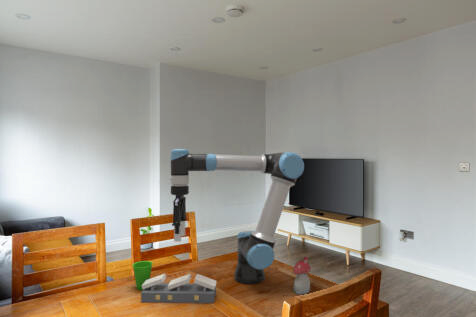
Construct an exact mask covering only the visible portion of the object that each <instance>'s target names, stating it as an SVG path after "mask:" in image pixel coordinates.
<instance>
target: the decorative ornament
mask: <svg viewBox="0 0 476 317" xmlns="http://www.w3.org/2000/svg"><path fill="white" fill-rule="evenodd" d="M308 261H309V257H308V256H304V257H303V259H302V260H299V261H297V262H296V263H295V264H294V266H293V268H292V273H293V274H294V275H296V276H295V278H294V281H293V287H292V291H293V293H294V294H295V295H299V296H300V295H302V296H303V294H304V295H306V294H307V293H309V292H310V290H311V281H310V278H309V275H308V274H309V273H310V272H311V271H312V270H311V265H310V264H309V263H308Z"/></svg>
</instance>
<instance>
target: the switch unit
mask: <svg viewBox="0 0 476 317" xmlns="http://www.w3.org/2000/svg"><path fill="white" fill-rule="evenodd" d="M169 283H170V282H168V283H167V282H162V283H160V284H157V285H154V286H151V287H148V288H145V289H144V290H141V293H140V302H141V303H159V304H161V303H165V304H170V303H171V304H214V303H215V299H216V294H217V285H216V286H215V289H214V290H212V289H209V288H207V287H204V286H201V285H199V284H196V283H194V282H193V283H191V282H189V283H187V284H184V285H181V286H178V287H175V288H172V289H170V290H169V289H168V285H169Z"/></svg>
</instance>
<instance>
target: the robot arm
mask: <svg viewBox="0 0 476 317" xmlns="http://www.w3.org/2000/svg"><path fill="white" fill-rule="evenodd" d="M304 170H305V163H304V161H303V159H302V156H300V154H298V153H295V152H292V151H286V152H285V151H283V152H276V153H262V154H261V155H243V154H242V155H239V154H236V155H234V154H215V153H190V152H189V148H188V149H186V148H173V149H172V150H171V152H170V177H169V180H170V184H171V185H170V194H171V195H172V196H175V198H174V199H173V202H172V203H173V206H172V207H173V213H172V223H171V226H172V227H173V229H174V230H173V232H174V233H173V242H182V237H185V236H186V221H188V219H187V213H186V212H187V210H186V208H187V207H186V198H187V197H186V196H187V195H189V192H190V190H189V188H190V186H189V182H190V176H189V172H215V171H228V172H229V171H232V172H233V171H235V172H239V171H240V172H259V173H261V174H267V175H270V178H271V181H272V182H271V185H270V188H269V190H268V194H267V196H266V200H265V202H264V205H263V208H262V210H261V214H260V217H259V219H258V223H257V225H256V229H255V230H247V231H240V232H238V234H237V264H236V267H235V270H234V275H233V278H234V280H235V281H236V282H238V283H239V284H244V285H245V284H246V285H255V284H260V283H263V282H264V281H265V279H266V278H265V276H266V273H265V269H267V268H269V267H270V266H271V265H272V264H273V262H274V259H275V252H274V249H275V248H274V247H275V244H276V240H275V235H276V234H275V233H276V230H277V227H278V224H279V221H280V219H281V215H282V213H283V209H284V207H285V204H286V201H287V197H288V195H289V191H290V188H291V187H294V186H296V182H297V179H298V178H299V177H300V176H302V174H303V173H304ZM263 280H264V281H263Z"/></svg>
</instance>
